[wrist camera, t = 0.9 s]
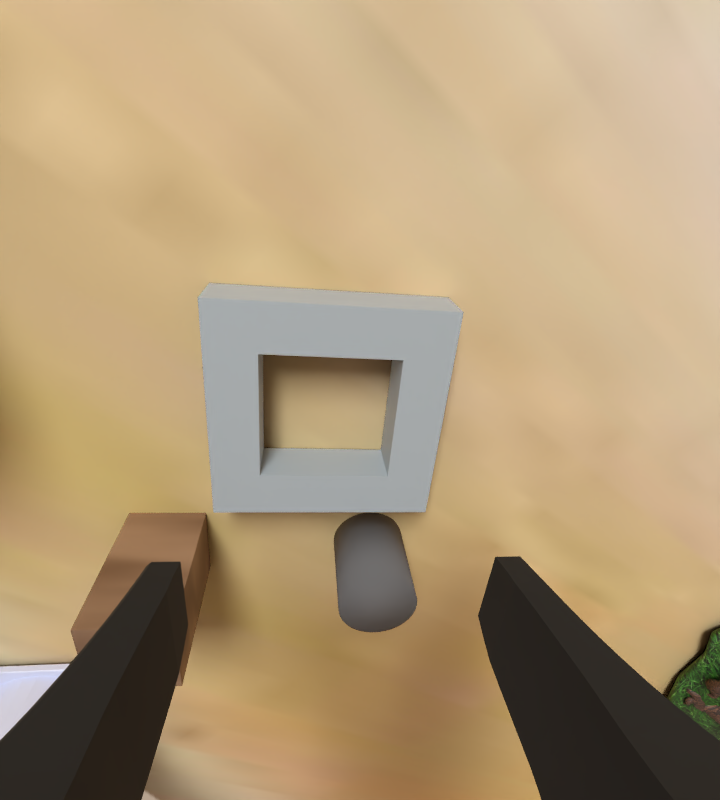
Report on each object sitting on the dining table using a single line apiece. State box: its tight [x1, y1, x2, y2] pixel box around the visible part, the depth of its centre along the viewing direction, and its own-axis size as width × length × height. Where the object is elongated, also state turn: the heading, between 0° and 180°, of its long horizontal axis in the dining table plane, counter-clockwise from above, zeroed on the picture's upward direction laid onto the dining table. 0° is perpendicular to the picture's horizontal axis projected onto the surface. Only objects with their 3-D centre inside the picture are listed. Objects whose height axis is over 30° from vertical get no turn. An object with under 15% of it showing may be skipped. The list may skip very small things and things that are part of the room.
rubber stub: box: [334, 513, 417, 632], centre depth 22 cm, size 3×3×4 cm
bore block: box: [198, 283, 463, 512], centre depth 19 cm, size 9×9×2 cm
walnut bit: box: [71, 513, 210, 686], centre depth 20 cm, size 3×3×6 cm
